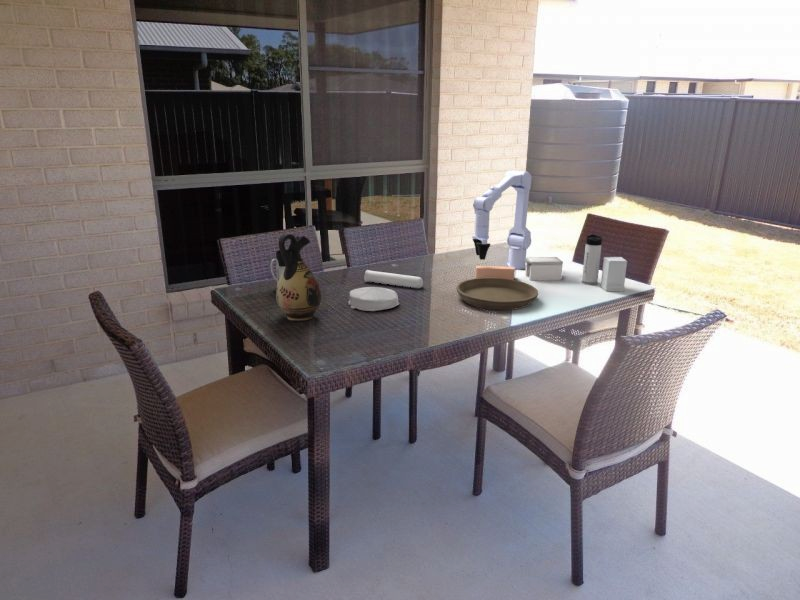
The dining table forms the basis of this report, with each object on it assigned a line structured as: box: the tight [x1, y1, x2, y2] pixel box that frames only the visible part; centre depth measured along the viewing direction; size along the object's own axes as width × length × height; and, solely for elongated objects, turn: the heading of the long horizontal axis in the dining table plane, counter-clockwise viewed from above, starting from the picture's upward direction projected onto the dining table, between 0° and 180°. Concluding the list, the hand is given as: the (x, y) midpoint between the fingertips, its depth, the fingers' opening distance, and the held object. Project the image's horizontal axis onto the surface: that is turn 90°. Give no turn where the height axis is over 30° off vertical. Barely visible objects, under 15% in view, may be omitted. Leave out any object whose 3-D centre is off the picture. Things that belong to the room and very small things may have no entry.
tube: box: [363, 269, 424, 289], centre depth 250 cm, size 5×5×25 cm
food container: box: [347, 286, 400, 312], centre depth 226 cm, size 20×20×7 cm
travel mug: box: [581, 234, 603, 286], centre depth 252 cm, size 6×7×20 cm
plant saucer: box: [456, 277, 539, 311], centre depth 232 cm, size 31×31×5 cm
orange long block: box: [475, 265, 515, 280], centre depth 260 cm, size 4×16×5 cm, turn 85°
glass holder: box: [270, 249, 291, 284], centre depth 241 cm, size 9×14×15 cm, turn 155°
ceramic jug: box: [275, 232, 322, 321], centre depth 207 cm, size 17×15×30 cm
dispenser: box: [524, 256, 564, 281], centre depth 261 cm, size 8×15×8 cm, turn 94°
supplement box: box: [600, 256, 628, 292], centre depth 245 cm, size 7×7×13 cm
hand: (480, 257), depth 258 cm, fingers open, 7 cm apart
